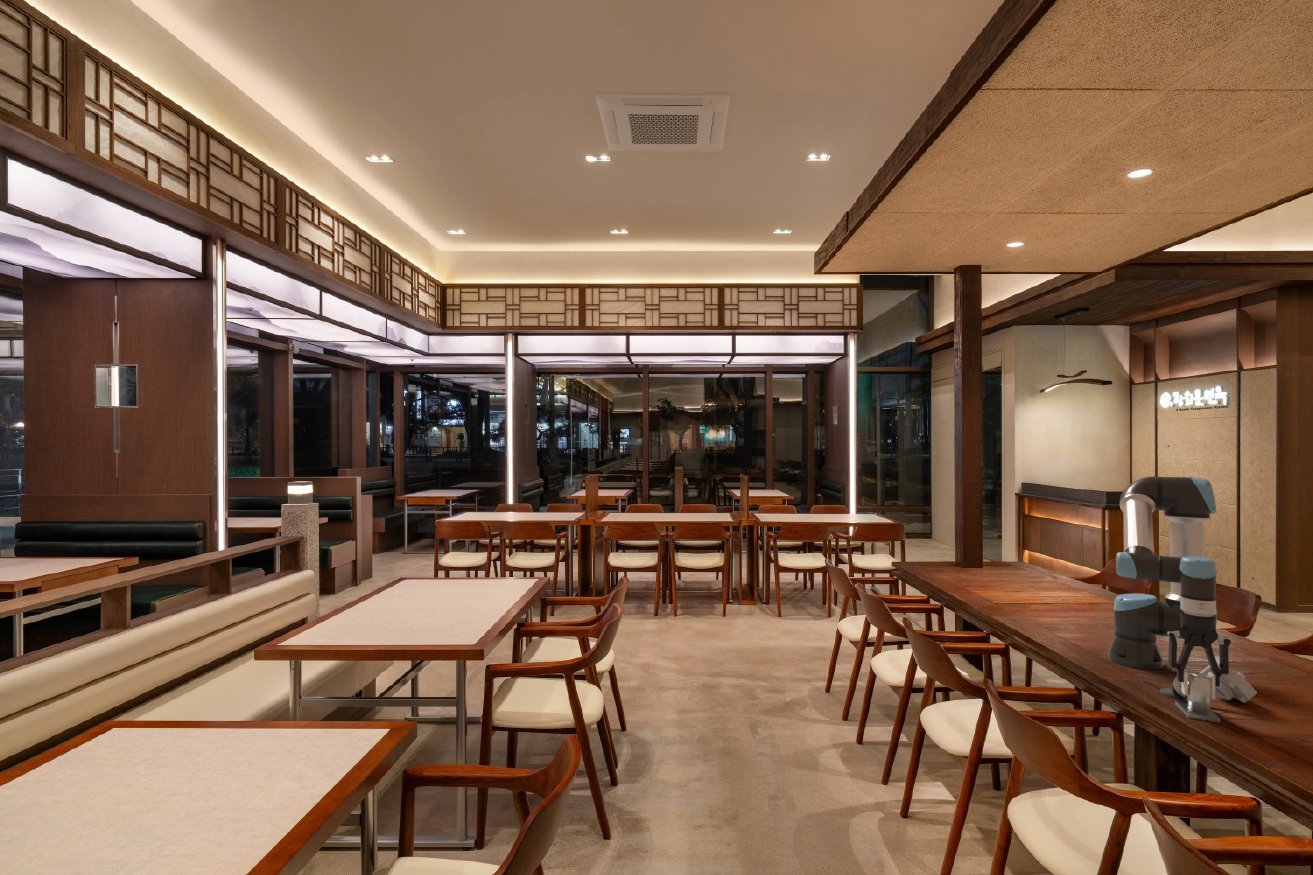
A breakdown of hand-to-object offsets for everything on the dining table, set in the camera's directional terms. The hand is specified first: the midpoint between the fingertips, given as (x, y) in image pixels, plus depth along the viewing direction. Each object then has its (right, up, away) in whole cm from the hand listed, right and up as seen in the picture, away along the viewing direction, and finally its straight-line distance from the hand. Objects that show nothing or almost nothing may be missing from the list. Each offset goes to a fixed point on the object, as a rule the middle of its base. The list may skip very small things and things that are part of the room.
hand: (1198, 694), depth 170 cm
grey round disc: (+4, -6, +13) cm, 14 cm away
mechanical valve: (+16, -8, +9) cm, 20 cm away
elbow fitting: (0, -5, +1) cm, 5 cm away
